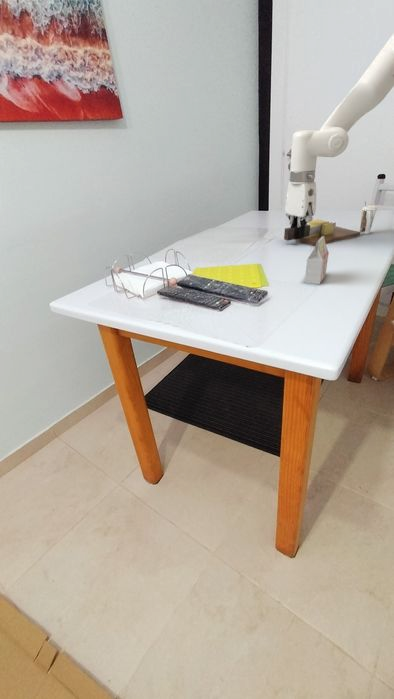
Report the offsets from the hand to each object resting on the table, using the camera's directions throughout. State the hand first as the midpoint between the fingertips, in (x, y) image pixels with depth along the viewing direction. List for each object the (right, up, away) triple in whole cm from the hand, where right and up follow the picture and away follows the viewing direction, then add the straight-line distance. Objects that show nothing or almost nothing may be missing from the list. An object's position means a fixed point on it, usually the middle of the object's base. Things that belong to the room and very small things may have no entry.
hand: (296, 237), depth 114 cm
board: (+11, +2, +5) cm, 12 cm away
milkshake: (+26, +3, +6) cm, 26 cm away
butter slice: (+11, +2, +3) cm, 12 cm away
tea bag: (-3, -20, -27) cm, 34 cm away
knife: (+5, +1, +2) cm, 6 cm away
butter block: (+9, +4, +7) cm, 13 cm away
